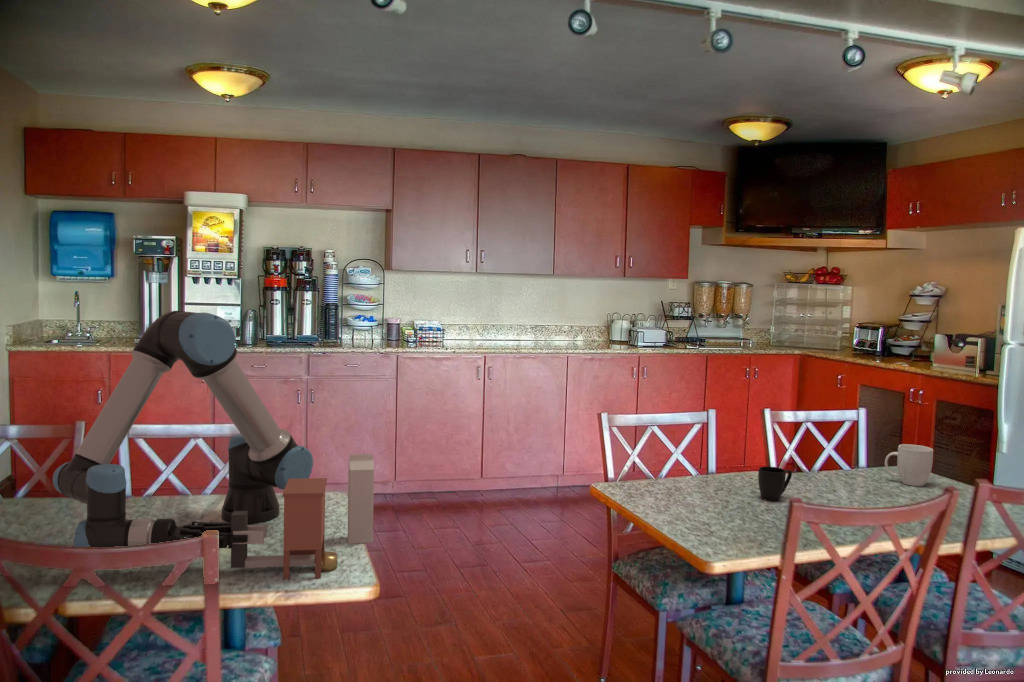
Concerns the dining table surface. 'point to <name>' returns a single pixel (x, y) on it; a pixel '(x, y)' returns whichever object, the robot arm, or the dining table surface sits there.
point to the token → (328, 561)
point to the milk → (360, 498)
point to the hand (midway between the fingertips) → (264, 534)
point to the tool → (243, 561)
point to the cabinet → (304, 520)
